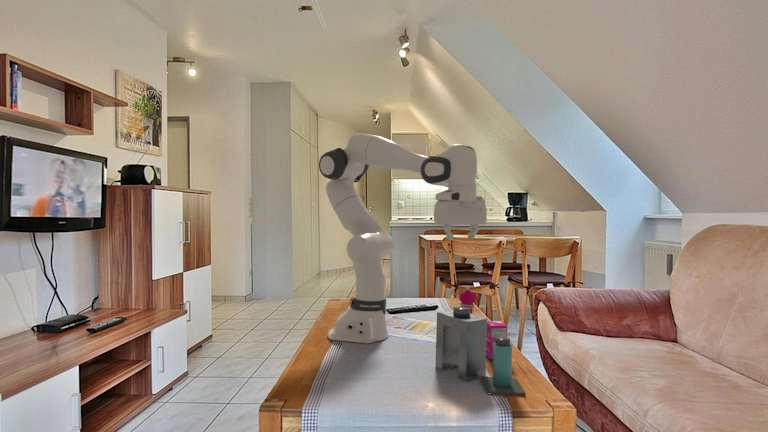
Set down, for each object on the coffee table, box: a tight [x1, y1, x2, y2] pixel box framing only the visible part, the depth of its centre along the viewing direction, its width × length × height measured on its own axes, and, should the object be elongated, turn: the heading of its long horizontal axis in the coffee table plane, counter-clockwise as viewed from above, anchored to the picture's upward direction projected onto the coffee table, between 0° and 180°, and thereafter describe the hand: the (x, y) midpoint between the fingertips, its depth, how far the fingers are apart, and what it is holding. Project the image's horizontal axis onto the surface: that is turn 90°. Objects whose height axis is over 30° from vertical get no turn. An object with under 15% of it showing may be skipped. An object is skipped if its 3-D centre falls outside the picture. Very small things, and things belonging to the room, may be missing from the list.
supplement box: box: [486, 320, 508, 361], centre depth 145 cm, size 6×6×12 cm
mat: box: [480, 376, 526, 397], centre depth 121 cm, size 10×10×1 cm
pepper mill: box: [458, 285, 477, 314], centre depth 163 cm, size 7×7×20 cm
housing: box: [435, 306, 488, 382], centre depth 131 cm, size 8×13×19 cm, turn 34°
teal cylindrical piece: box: [492, 337, 513, 388], centre depth 121 cm, size 5×5×12 cm
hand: (460, 238), depth 140 cm, fingers open, 8 cm apart
